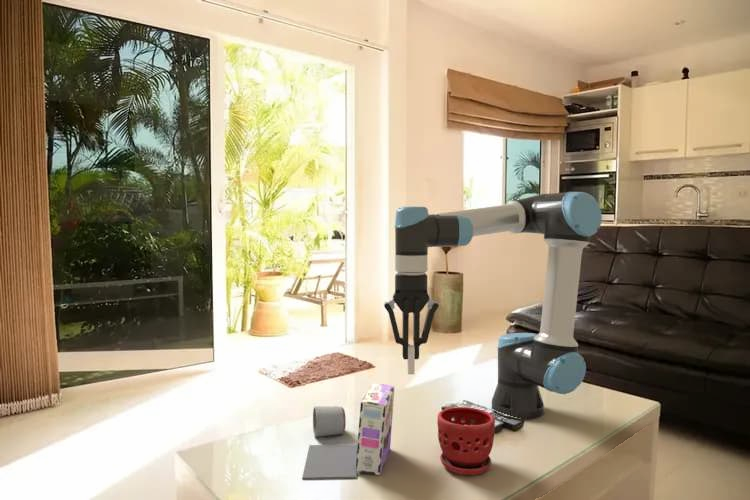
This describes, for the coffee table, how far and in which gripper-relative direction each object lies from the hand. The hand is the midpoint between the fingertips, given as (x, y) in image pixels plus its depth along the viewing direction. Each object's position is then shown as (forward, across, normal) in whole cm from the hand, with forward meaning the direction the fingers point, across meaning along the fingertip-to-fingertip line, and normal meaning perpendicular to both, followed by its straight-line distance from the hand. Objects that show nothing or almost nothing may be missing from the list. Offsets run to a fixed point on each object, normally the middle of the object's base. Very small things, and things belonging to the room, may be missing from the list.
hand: (410, 372), depth 118 cm
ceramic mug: (+22, +21, -17) cm, 34 cm away
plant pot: (+21, -13, +3) cm, 25 cm away
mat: (+21, +19, 0) cm, 28 cm away
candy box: (+21, +9, 0) cm, 23 cm away
